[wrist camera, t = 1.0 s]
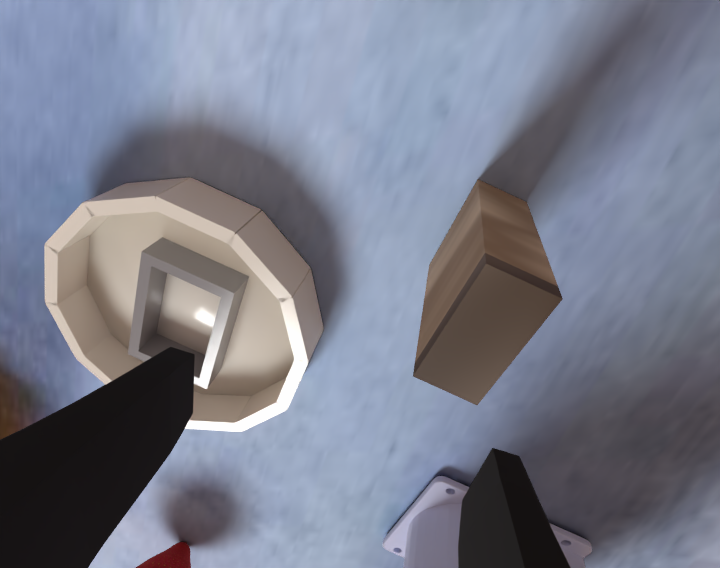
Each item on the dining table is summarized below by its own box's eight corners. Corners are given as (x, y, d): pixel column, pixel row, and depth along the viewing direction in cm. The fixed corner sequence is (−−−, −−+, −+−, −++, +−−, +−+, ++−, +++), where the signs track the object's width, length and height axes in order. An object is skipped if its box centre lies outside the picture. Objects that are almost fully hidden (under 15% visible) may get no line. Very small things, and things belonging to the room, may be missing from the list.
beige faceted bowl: (358, 253, 19) (344, 282, 17) (279, 426, 25) (263, 463, 23) (92, 132, 19) (43, 145, 16) (81, 338, 25) (45, 367, 23)
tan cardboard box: (526, 202, 16) (562, 298, 10) (472, 285, 19) (477, 405, 13) (478, 179, 16) (486, 263, 10) (429, 265, 18) (412, 376, 12)
